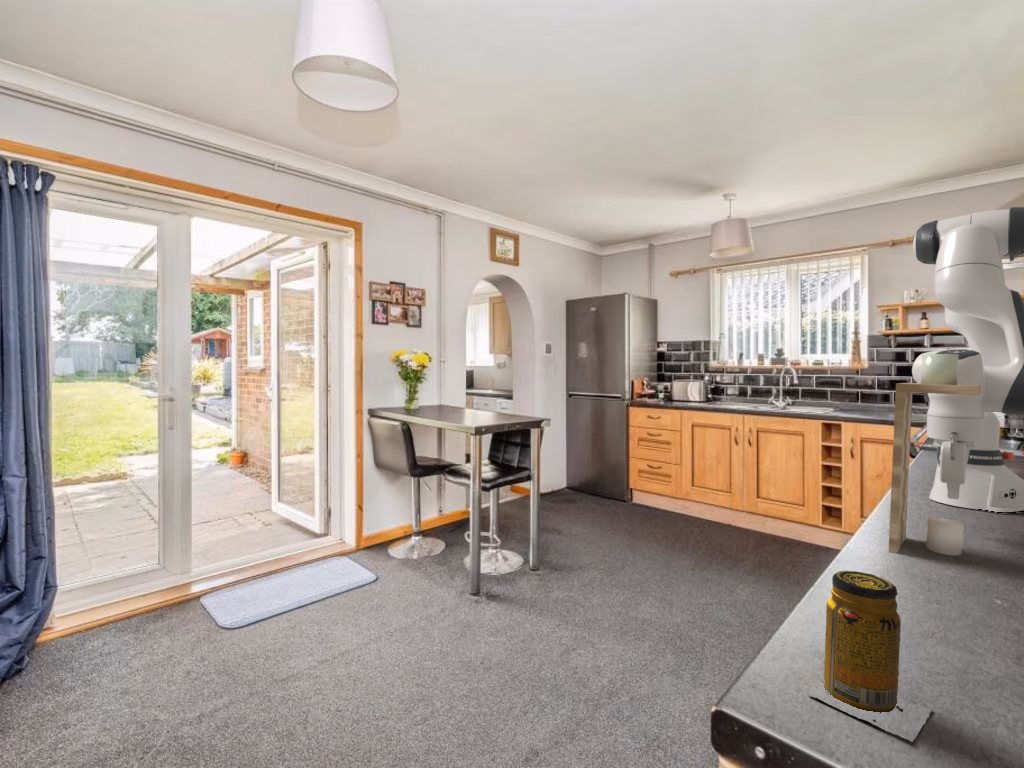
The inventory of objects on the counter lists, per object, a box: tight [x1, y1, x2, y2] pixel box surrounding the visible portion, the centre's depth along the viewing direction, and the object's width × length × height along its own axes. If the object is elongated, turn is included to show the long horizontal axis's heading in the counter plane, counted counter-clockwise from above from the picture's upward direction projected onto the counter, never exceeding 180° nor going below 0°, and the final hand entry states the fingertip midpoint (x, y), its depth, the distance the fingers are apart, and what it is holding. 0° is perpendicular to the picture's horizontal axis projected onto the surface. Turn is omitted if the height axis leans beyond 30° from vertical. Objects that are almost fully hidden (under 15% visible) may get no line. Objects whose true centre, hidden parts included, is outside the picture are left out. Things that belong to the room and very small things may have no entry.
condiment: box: [823, 570, 902, 713], centre depth 50 cm, size 7×8×12 cm
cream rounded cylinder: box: [925, 516, 964, 556], centre depth 94 cm, size 5×5×5 cm
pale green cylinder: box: [921, 353, 959, 385], centre depth 92 cm, size 5×5×5 cm
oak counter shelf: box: [888, 382, 981, 554], centre depth 93 cm, size 12×11×30 cm
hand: (953, 497), depth 105 cm, fingers closed
